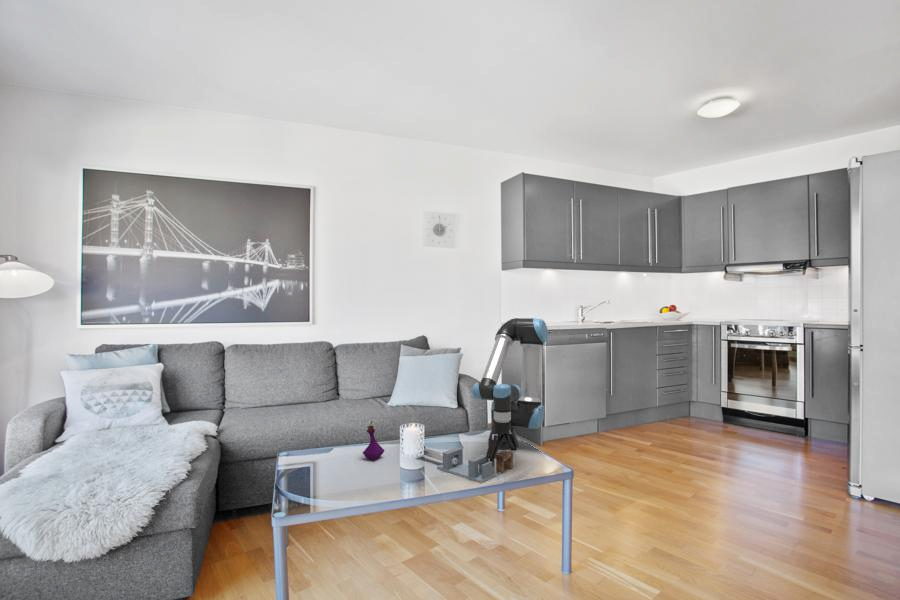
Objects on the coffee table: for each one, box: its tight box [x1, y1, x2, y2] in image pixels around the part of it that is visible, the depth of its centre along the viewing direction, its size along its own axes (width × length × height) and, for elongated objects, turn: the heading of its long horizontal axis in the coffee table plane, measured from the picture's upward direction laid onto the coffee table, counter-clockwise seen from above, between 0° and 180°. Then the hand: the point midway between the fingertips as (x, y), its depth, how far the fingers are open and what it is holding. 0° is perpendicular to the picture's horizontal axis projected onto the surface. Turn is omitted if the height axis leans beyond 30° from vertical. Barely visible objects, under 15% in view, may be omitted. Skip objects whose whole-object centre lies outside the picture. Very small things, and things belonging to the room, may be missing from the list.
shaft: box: [423, 445, 459, 465], centre depth 213 cm, size 5×23×5 cm, turn 48°
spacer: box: [495, 449, 514, 474], centre depth 205 cm, size 8×5×7 cm, turn 138°
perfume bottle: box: [362, 419, 385, 461], centre depth 220 cm, size 8×8×18 cm
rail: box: [436, 446, 497, 484], centre depth 202 cm, size 10×25×8 cm, turn 48°
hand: (502, 469), depth 205 cm, fingers open, 13 cm apart
